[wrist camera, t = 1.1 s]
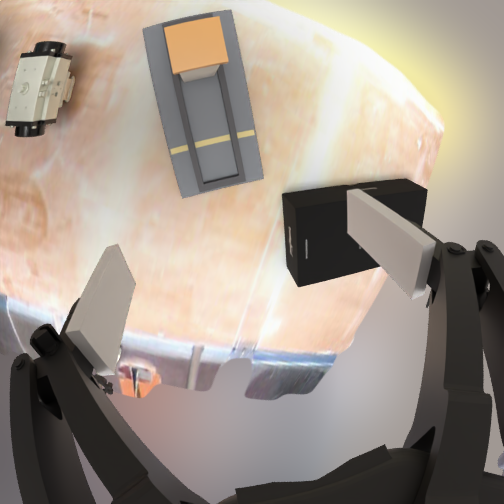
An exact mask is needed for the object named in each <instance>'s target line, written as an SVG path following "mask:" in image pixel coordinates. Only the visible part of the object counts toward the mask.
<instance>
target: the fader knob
mask: <svg viewBox="0 0 504 504" xmlns="http://www.w3.org/2000/svg"><path fill="white" fill-rule="evenodd" d="M164 30H165V35H166V41H167V46H168V51H169V56H170V61H171V66H172V71H173V74H174V75H175V74H179V73H180V75H181V77H182V79H183V81H184V83H185V82H189V81H193V80H197V79H202V78H206V77H211V76H214V75H215V73H216V71H217V69H218V67H219V65H220V64H226V63H228V62H229V60H228V56H227V51H226V46H225V41H224V36H223V31H222V27H221V22H220V17H219V16H217V17H211V18H205V19H199V20H194V21H190V22H185V23H181V24H176V25H172V26H168V27H165V28H164Z"/></svg>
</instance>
